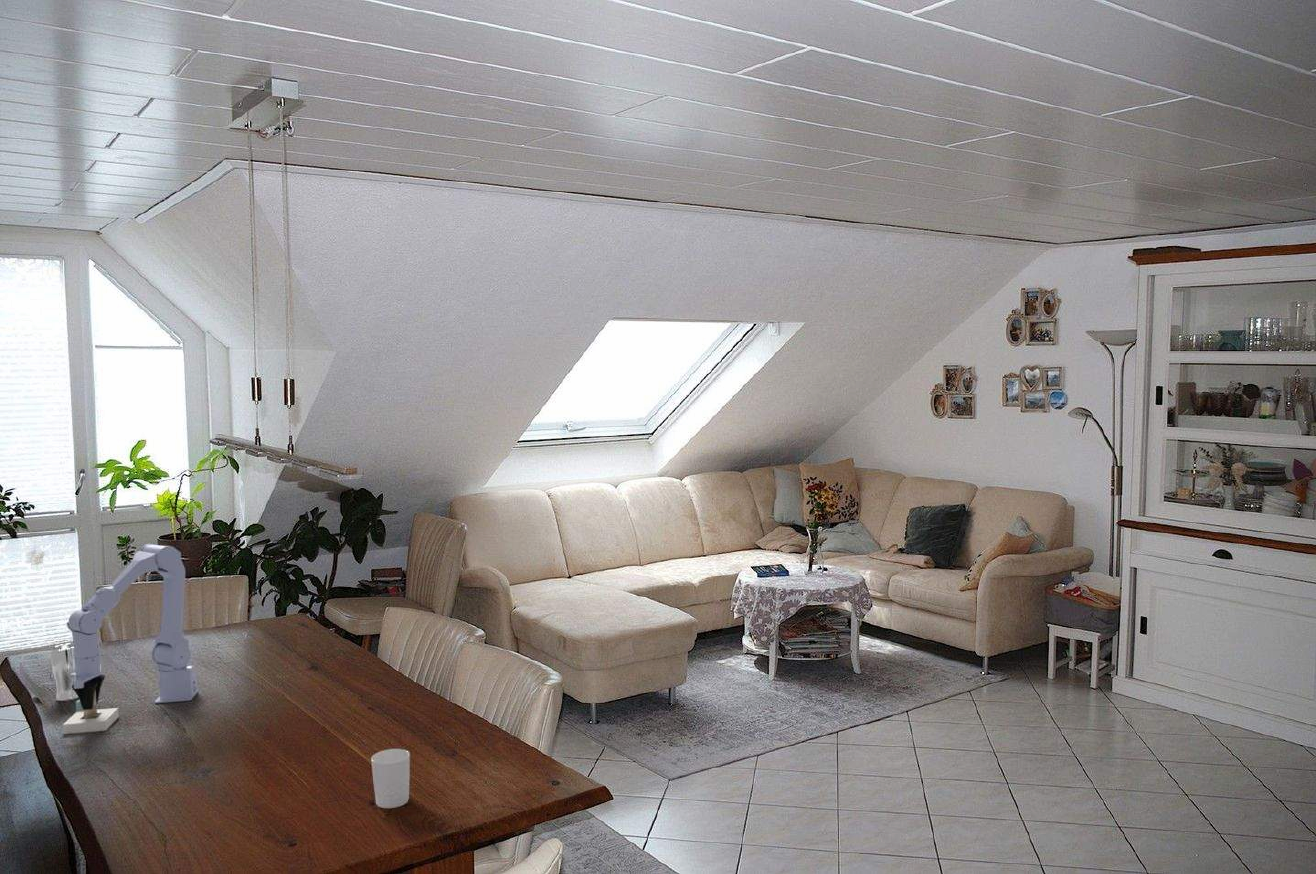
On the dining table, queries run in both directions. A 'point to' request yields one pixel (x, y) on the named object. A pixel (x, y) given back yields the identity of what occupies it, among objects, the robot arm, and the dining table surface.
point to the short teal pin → (79, 706)
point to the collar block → (91, 721)
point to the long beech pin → (91, 710)
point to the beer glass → (64, 671)
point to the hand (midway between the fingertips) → (90, 707)
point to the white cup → (391, 777)
